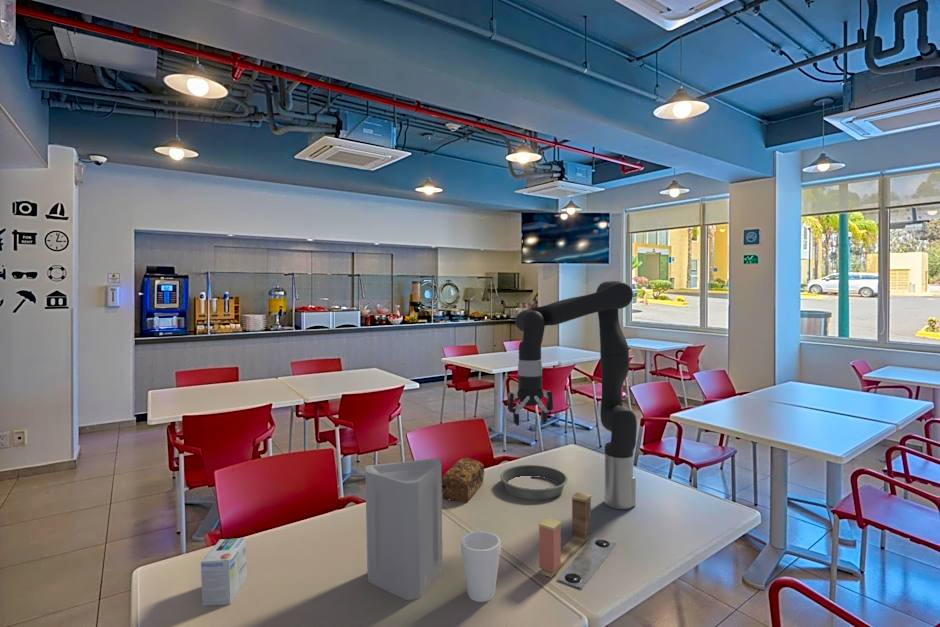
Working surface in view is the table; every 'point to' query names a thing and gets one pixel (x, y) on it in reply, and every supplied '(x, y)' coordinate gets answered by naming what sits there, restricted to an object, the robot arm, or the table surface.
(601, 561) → the flange plate
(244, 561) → the light bulb box
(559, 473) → the cake pan
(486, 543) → the foam cup
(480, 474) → the bread
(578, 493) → the rail
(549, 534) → the sliding leg
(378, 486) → the triangular storage bin
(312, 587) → the table surface
